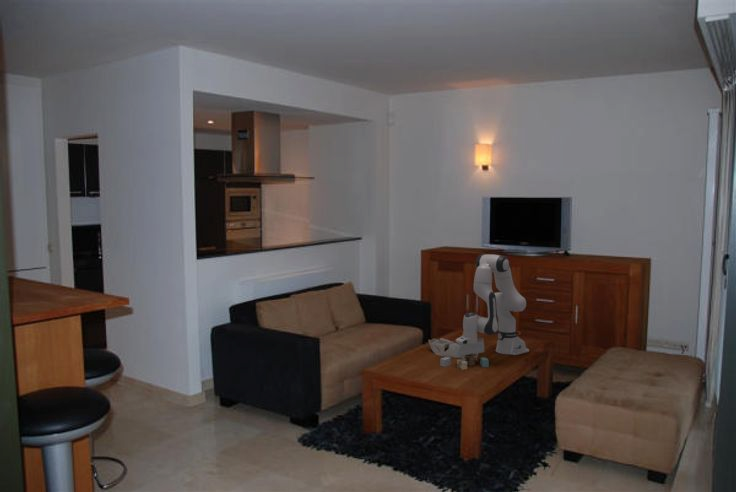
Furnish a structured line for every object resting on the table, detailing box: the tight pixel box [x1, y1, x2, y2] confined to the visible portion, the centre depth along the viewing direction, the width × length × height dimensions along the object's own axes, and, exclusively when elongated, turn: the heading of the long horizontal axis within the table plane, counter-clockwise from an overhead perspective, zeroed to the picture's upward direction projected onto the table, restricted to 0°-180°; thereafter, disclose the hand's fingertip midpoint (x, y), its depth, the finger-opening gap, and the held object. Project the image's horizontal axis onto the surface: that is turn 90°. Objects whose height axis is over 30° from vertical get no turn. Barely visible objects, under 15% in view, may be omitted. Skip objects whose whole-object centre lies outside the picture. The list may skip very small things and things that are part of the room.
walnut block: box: [464, 355, 476, 367], centre depth 379 cm, size 6×4×4 cm, turn 26°
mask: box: [427, 337, 473, 359], centre depth 404 cm, size 20×9×30 cm
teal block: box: [479, 356, 490, 368], centre depth 376 cm, size 6×4×4 cm, turn 6°
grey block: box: [439, 356, 452, 368], centre depth 376 cm, size 6×4×4 cm, turn 136°
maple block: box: [456, 358, 468, 371], centre depth 371 cm, size 6×4×4 cm, turn 26°
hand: (469, 361), depth 379 cm, fingers open, 7 cm apart
